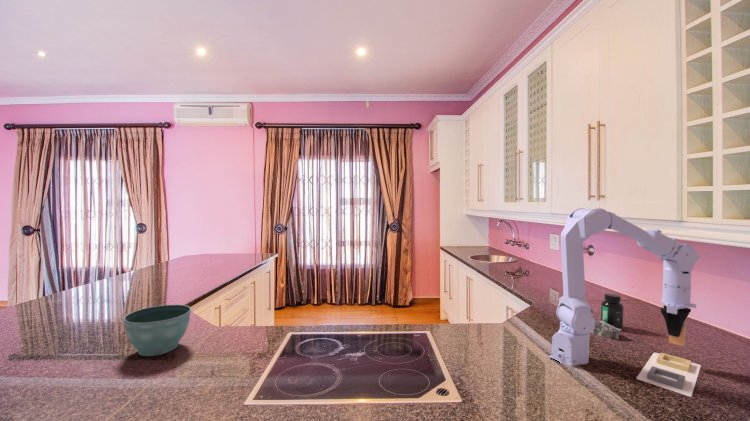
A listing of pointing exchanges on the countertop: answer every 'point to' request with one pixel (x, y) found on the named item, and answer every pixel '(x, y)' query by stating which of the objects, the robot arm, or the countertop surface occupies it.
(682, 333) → the peg
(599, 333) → the egg carton
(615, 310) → the supplement bottle
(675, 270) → the robot arm
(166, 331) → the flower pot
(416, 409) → the countertop surface
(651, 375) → the socket board
